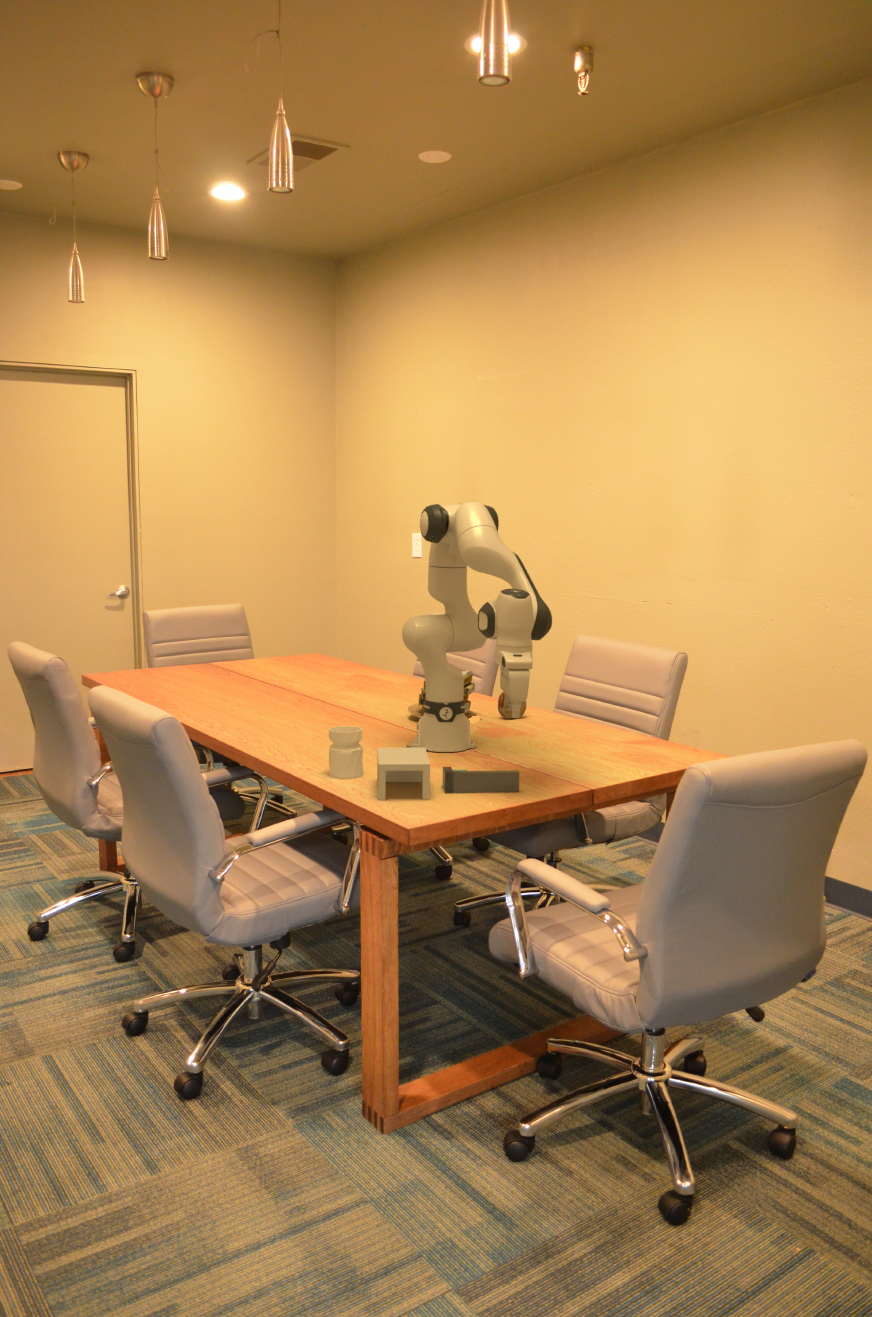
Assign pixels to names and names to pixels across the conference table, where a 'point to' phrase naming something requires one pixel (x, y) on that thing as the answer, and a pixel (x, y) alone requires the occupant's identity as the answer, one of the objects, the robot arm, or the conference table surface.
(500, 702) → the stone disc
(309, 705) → the conference table surface
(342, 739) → the pale lidded jar
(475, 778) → the dark grey long block
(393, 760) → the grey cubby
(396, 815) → the conference table surface
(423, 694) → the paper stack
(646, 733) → the conference table surface
